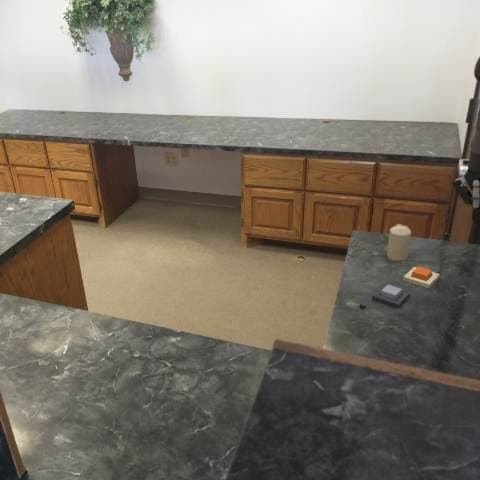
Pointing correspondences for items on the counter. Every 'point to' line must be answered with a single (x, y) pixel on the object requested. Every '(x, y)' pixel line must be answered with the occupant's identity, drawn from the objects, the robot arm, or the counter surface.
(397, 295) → the key
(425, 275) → the key
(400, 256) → the candle
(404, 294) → the keypad
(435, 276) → the keypad
